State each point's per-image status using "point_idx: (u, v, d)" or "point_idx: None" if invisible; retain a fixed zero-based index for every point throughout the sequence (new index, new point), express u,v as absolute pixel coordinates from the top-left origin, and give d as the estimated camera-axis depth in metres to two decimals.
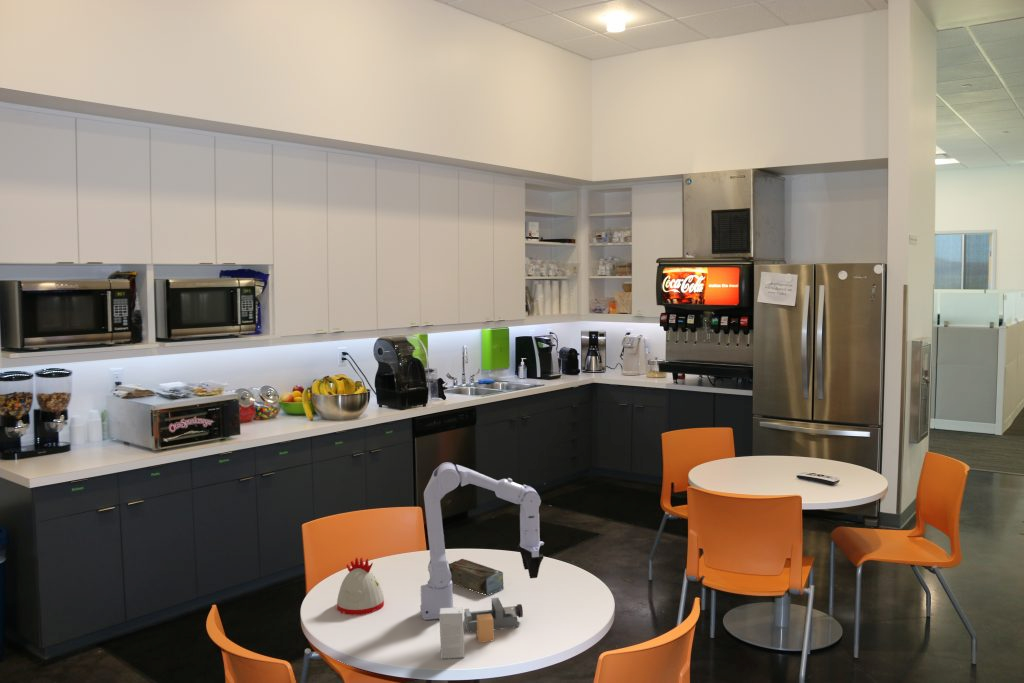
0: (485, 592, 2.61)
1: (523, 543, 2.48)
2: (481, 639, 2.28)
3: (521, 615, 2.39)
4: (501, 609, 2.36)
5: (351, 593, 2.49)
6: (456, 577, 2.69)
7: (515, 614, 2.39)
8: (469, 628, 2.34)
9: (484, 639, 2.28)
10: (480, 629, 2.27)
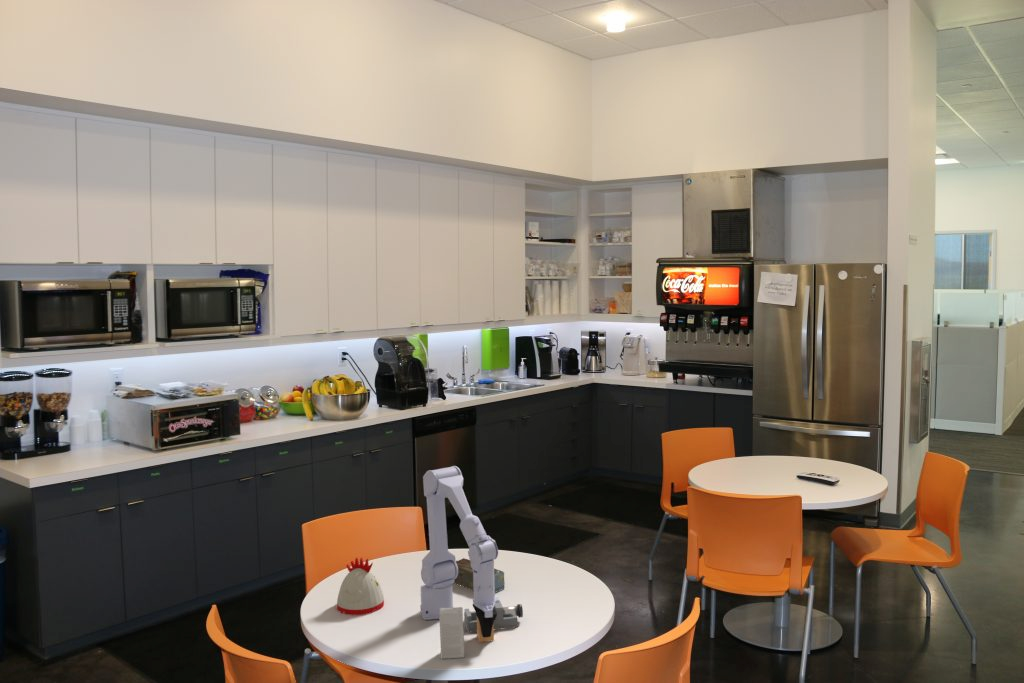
0: None
1: (477, 601, 2.27)
2: (481, 639, 2.28)
3: (521, 615, 2.39)
4: (501, 609, 2.36)
5: (351, 593, 2.49)
6: (457, 577, 2.70)
7: (515, 614, 2.39)
8: (469, 628, 2.34)
9: (484, 639, 2.28)
10: (480, 629, 2.27)
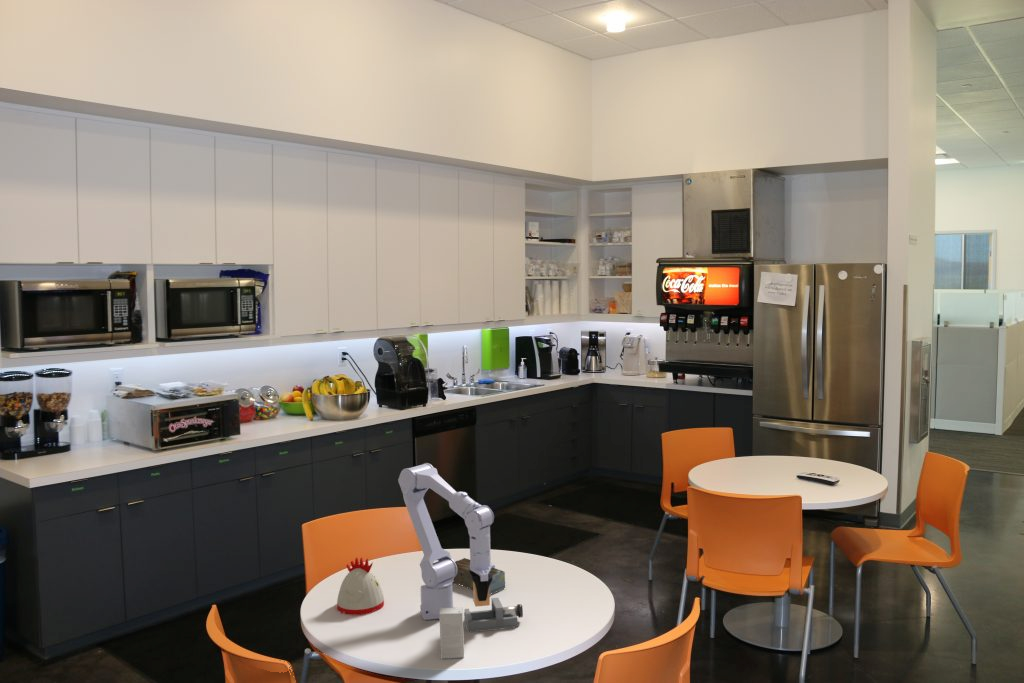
0: None
1: (473, 566, 2.34)
2: (477, 603, 2.35)
3: (521, 615, 2.39)
4: (501, 609, 2.36)
5: (351, 593, 2.49)
6: (458, 577, 2.70)
7: (515, 614, 2.39)
8: (469, 628, 2.34)
9: (480, 603, 2.35)
10: (476, 594, 2.35)
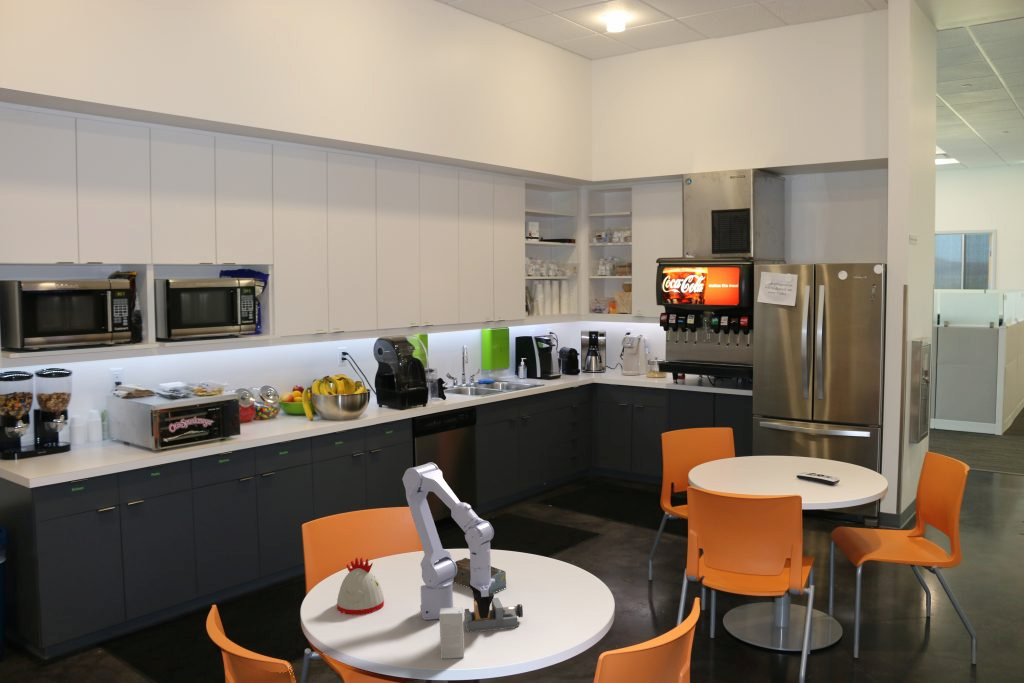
0: None
1: (473, 581, 2.36)
2: None
3: (521, 615, 2.39)
4: (501, 609, 2.36)
5: (351, 593, 2.49)
6: (459, 576, 2.70)
7: (515, 614, 2.39)
8: (469, 628, 2.34)
9: None
10: (477, 614, 2.36)
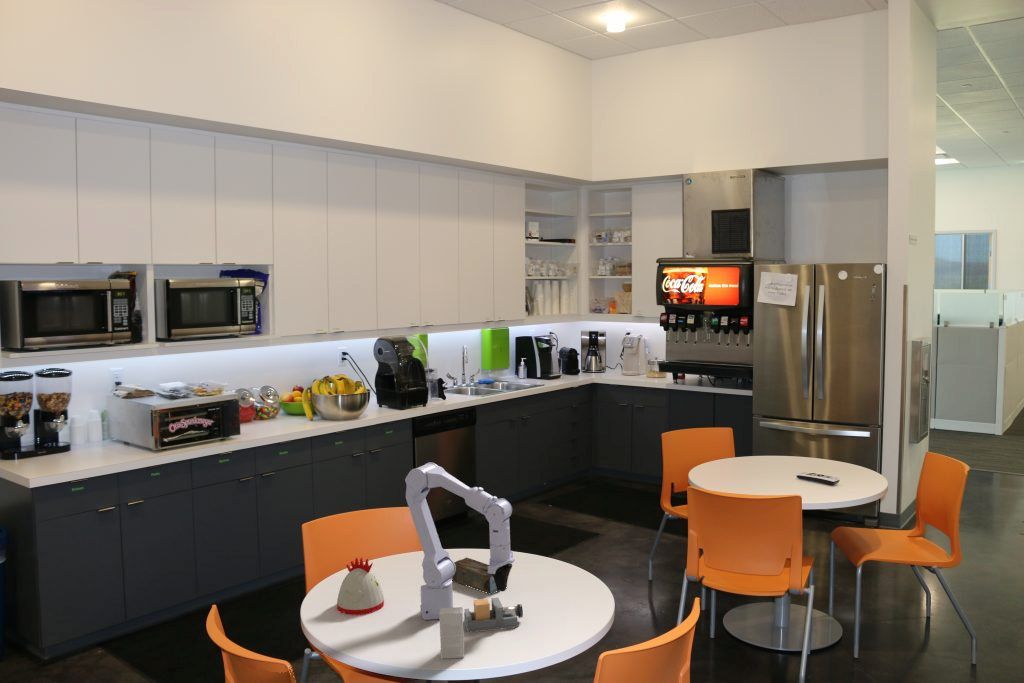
0: (488, 591, 2.62)
1: (490, 557, 2.38)
2: None
3: (521, 615, 2.39)
4: (501, 609, 2.36)
5: (351, 593, 2.49)
6: (460, 576, 2.70)
7: (515, 614, 2.39)
8: (469, 628, 2.34)
9: None
10: (477, 614, 2.36)
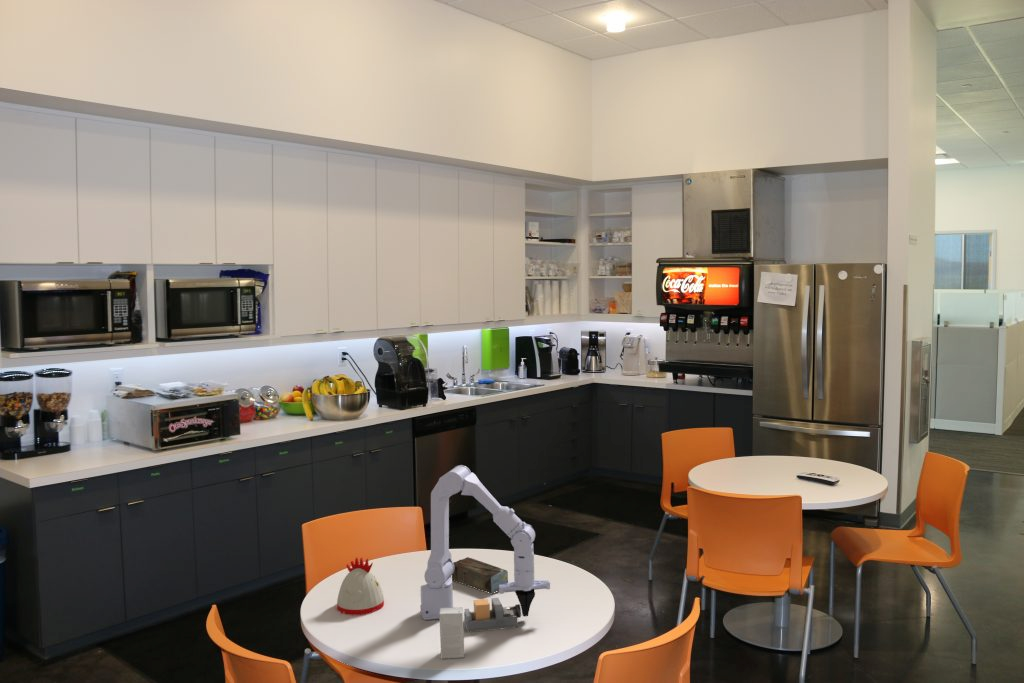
0: (490, 590, 2.62)
1: None
2: None
3: (519, 615, 2.39)
4: (501, 609, 2.36)
5: (351, 593, 2.49)
6: (461, 576, 2.71)
7: (513, 614, 2.39)
8: (469, 628, 2.34)
9: None
10: (477, 614, 2.36)
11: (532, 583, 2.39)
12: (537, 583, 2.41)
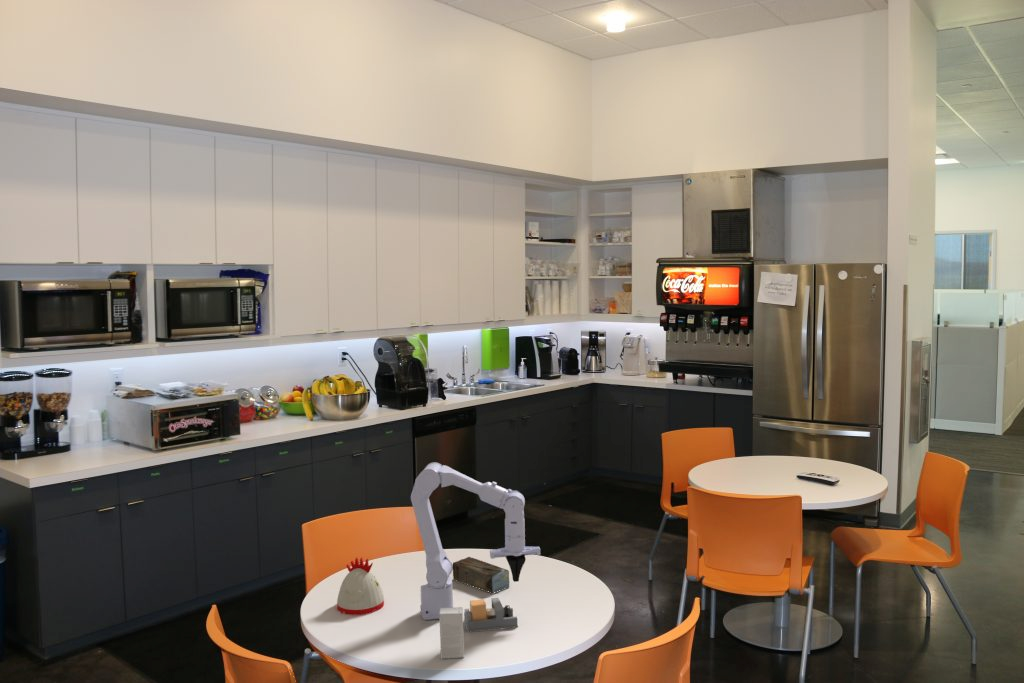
0: (491, 590, 2.63)
1: None
2: None
3: (509, 616, 2.39)
4: (501, 609, 2.36)
5: (351, 593, 2.49)
6: (462, 575, 2.71)
7: (503, 615, 2.38)
8: (469, 628, 2.34)
9: None
10: (473, 614, 2.36)
11: (522, 548, 2.42)
12: (528, 549, 2.45)
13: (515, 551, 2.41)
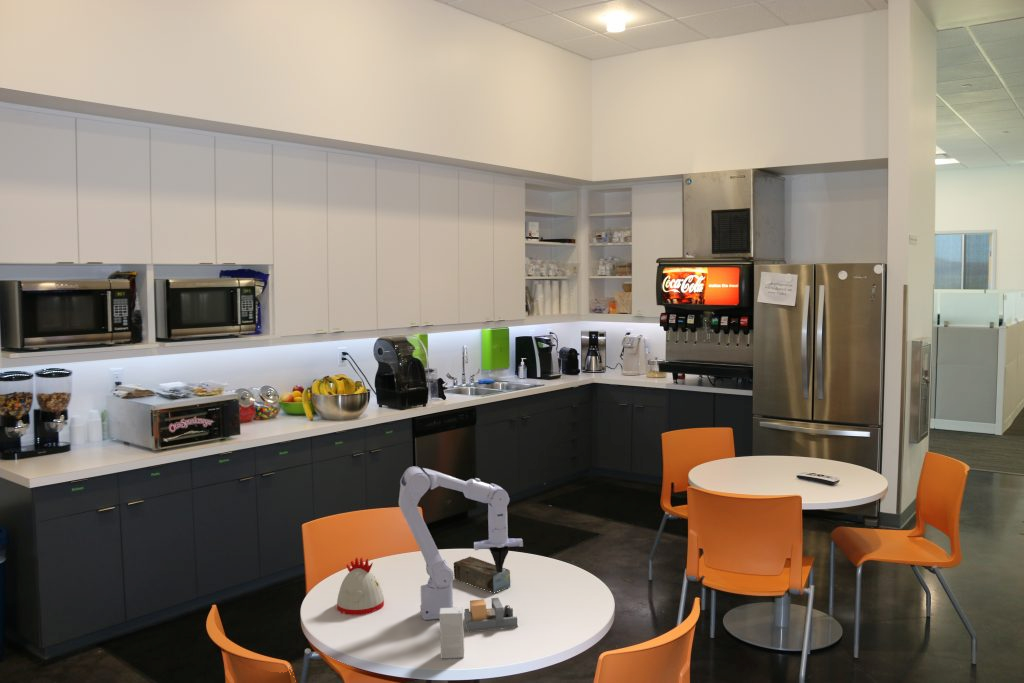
0: (492, 590, 2.63)
1: None
2: None
3: (509, 616, 2.39)
4: (501, 609, 2.36)
5: (351, 593, 2.49)
6: (463, 575, 2.71)
7: (503, 615, 2.38)
8: (469, 628, 2.34)
9: None
10: (473, 614, 2.36)
11: (505, 540, 2.50)
12: (510, 541, 2.52)
13: (498, 543, 2.49)
